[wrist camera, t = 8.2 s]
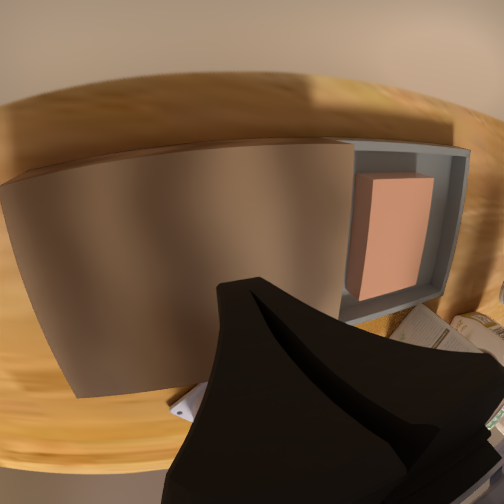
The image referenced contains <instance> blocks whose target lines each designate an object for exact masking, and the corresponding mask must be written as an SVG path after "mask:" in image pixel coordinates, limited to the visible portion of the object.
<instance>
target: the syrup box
mask: <svg viewBox="0 0 504 504" xmlns="http://www.w3.org/2000/svg"><path fill="white" fill-rule="evenodd" d="M389 339H393V340H397V341H401V342H404V343H408V344H413V345H418V346H423V347H428V348H435V349H441V350H448V351H459V352H474V353H483V352H482V351H481V350H480V349H479V348H477V347H476V346H475V345H474V344H473V343H471V342H470V341H469V340H468V339H467V338H465V337H464V336H463V335H462V334H461V333H459V332H458V331H457V330H456V329H454V328H453V327H452V326H451V325H449V324H448V323H447V322H446V321H444V320H443V319H442V318H441V317H440V316H438V315H437V314H436V313H434V312H433V311H432V310H431V309H429V308H428V307H427V306H425V305H424V304H423V303H421V304H418V305H415V307H414V308H413V309H412V310H411V311H410V312H409V314H408V315H407V316H406V317H405V319H404V320H403V321H402V322H401V323H400V325H399V326H398V327H397V328H396V330H395V331H394V332H393V333H392V335H391V336H390V337H389ZM503 416H504V399H503V400H502V402H501V403H500V405H499V406H498V408H497V409H496V410H495V412H494V413H493V415H492V416H491V417H490V419H489V420H488V421H487V423H486V424H485V426H486V427H487V428H488V429H489V430H490V429H491V428H493V427H494V426H495V425H496V424H497V423H498V421H499V420H500V419H501V418H502V417H503Z"/></svg>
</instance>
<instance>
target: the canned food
mask: <svg viewBox="0 0 504 504" xmlns="http://www.w3.org/2000/svg"><path fill="white" fill-rule="evenodd" d="M500 302H501V303H502V304H503V305H504V282H503V285H502V288H501V292H500Z"/></svg>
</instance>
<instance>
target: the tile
mask: <svg viewBox="0 0 504 504" xmlns="http://www.w3.org/2000/svg"><path fill="white" fill-rule="evenodd" d="M433 183H434V178H433V177H430V176H427V175H424V174H421V173H418V172H377V173H356V176H355V193H354V207H353V220H352V231H351V242H350V251H349V260H348V269H347V277H346V285H345V289H346V290H347V291H348V292H349V293H350V294H352V295H353V296H354V297H355V298H356V299H357V300H358V301H362V300H366V299H369V298H373V297H376V296H380V295H383V294H387V293H390V292H394V291H397V290H401V289H404V288H407V287H411V286H414V285H416V281H417V277H418V272H419V268H420V263H421V258H422V253H423V248H424V243H425V238H426V232H427V226H428V220H429V213H430V207H431V199H432V191H433Z"/></svg>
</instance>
